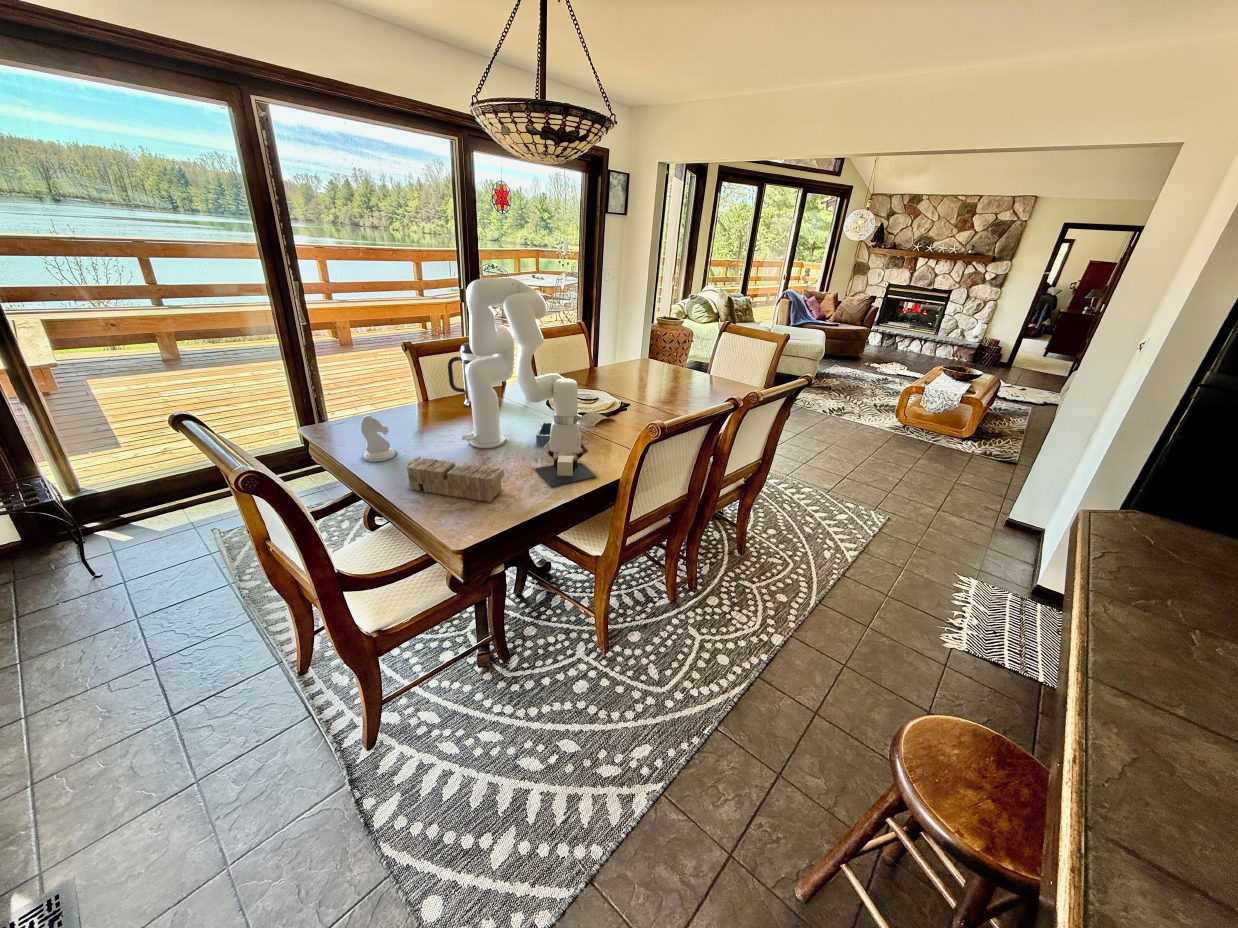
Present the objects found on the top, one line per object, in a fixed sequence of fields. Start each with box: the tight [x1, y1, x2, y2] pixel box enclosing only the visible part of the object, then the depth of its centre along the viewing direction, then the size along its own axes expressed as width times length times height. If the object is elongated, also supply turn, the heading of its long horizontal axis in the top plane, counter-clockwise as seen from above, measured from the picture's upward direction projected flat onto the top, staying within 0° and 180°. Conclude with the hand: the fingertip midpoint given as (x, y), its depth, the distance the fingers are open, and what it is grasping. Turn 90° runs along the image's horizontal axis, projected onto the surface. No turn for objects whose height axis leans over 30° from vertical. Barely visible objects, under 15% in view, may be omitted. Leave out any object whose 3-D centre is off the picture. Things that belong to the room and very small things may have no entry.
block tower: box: [406, 456, 505, 503], centre depth 145 cm, size 8×8×29 cm
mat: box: [535, 462, 597, 488], centre depth 161 cm, size 16×14×1 cm
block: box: [557, 455, 574, 476], centre depth 160 cm, size 5×5×5 cm
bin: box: [535, 421, 582, 447], centre depth 184 cm, size 16×14×5 cm
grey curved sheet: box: [578, 412, 614, 427], centre depth 206 cm, size 14×10×3 cm
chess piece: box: [360, 414, 396, 463], centre depth 163 cm, size 10×10×15 cm
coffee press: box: [447, 341, 494, 407], centre depth 215 cm, size 17×16×30 cm
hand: (565, 469), depth 160 cm, fingers closed on block, 5 cm apart
